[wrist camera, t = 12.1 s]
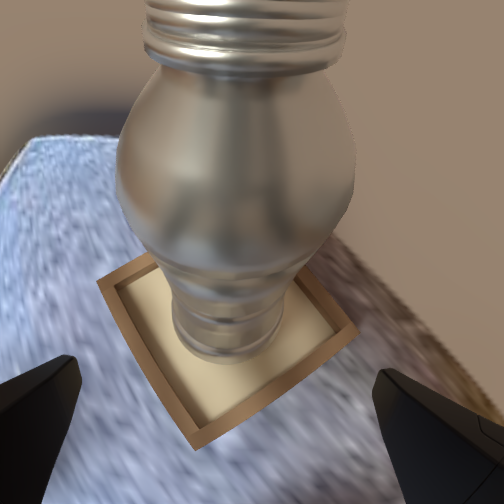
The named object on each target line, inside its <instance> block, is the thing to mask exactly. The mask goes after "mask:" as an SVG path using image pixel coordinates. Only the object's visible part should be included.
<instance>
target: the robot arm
mask: <svg viewBox="0 0 504 504" xmlns="http://www.w3.org/2000/svg"><path fill="white" fill-rule="evenodd" d="M81 385H82V377H81V373H80V370H79V366H78V362H77V359H76V358H75V357H74V356H70V355H61V356H59V357H57V358H55V359H52V360H50V361H48V362H46V363H44V364H42V365H40V366H38V367H36V368H34V369H31V370H29V371H27V372H25V373H23V374H21V375H19V376H17V377H15V378H12V379H10V380H8V381H6V382H4V383H2V384H0V504H41V503H42V500H43V497H44V493H45V490H46V488H47V485H48V482H49V479H50V476H51V473H52V470H53V468H54V465H55V462H56V459H57V457H58V454H59V452H60V449H61V446H62V444H63V441H64V439H65V436H66V434H67V431H68V429H69V426H70V423H71V420H72V416H73V413H74V409H75V406H76V402H77V399H78V395H79V392H80V389H81ZM372 398H373V402H374V406H375V410H376V414H377V418H378V422H379V426H380V430H381V434H382V437H383V440H384V443H385V446H386V448H387V451H388V454H389V456H390V459H391V462H392V465H393V468H394V470H395V473H396V476H397V479H398V482H399V485H400V487H401V490H402V493H403V496H404V499H405V502H406V504H504V427H502V426H500V425H498V424H496V423H494V422H492V421H490V420H488V419H486V418H484V417H482V416H480V415H477V414H476V413H474V412H472V411H470V410H469V409H467V408H465V407H463V406H461V405H459V404H457V403H455V402H453V401H452V400H450V399H448V398H446V397H444V396H442V395H440V394H439V393H437V392H435V391H433V390H431V389H429V388H428V387H426V386H424V385H422V384H420V383H418V382H417V381H415V380H413V379H411V378H409V377H408V376H406V375H404V374H402V373H400V372H399V371H397V370H395V369H393V368H388V369H381V370H380V371H379V372H378V375H377V378H376V381H375V384H374V387H373V390H372Z"/></svg>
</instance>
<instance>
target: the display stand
mask: <svg viewBox="0 0 504 504" xmlns="http://www.w3.org/2000/svg"><path fill="white" fill-rule="evenodd" d="M96 282H97V284H98V286H99V289H100V291H101V293H102V295H103V297H104V299H105V301H106V303H107V305H108V308H109V310H110V312H111V314H112V316H113V318H114V320H115V322H116V324H117V325H118V327H119V329H120V331H121V333H122V335H123V337H124V339H125V341H126V343H127V344H128V346H129V348H130V350H131V352H132V354H133V355H134V357H135V359H136V361H137V362H138V364H139V366H140V368H141V369H142V371H143V373H144V374H145V376H146V378H147V379H148V381H149V383H150V384H151V386H152V388H153V389H154V391H155V393H156V394H157V396H158V397H159V399H160V401H161V402H162V404H163V405H164V407H165V408H166V410H167V411H168V413H169V414H170V416H171V417H172V419H173V420H174V422H175V423H176V425H177V426H178V428H179V429H180V431H181V432H182V434H183V435H184V436H185V438H186V439H187V441H188V442H189V443H190V445H191V446H192V448H193V449H194V450H195V451H196V450H198V449H200V448H202V447H203V446H205V445H207V444H208V443H210V442H212V441H213V440H215V439H217V438H218V437H220V436H222V435H223V434H225V433H226V432H228V431H229V430H231V429H233V428H234V427H236V426H237V425H239V424H240V423H242V422H243V421H245V420H247V419H248V418H250V417H251V416H253V415H254V414H256V413H257V412H258V411H260V410H261V409H263V408H264V407H266V406H267V405H269V404H270V403H272V402H273V401H274V400H276V399H277V398H279V397H280V396H281V395H283V394H284V393H286V392H287V391H288V390H290V389H291V388H292V387H294V386H295V385H296V384H298V383H299V382H300V381H302V380H303V379H304V378H306V377H307V376H308V375H310V374H311V373H312V372H313V371H315V370H316V369H317V368H319V367H320V366H321V365H322V364H324V363H325V362H326V361H327V360H329V359H330V358H331V357H332V356H334V355H335V354H336V353H337V352H338V351H340V350H341V349H342V348H343V347H344V346H346V345H347V344H348V343H349V342H350V341H352V340H353V339H354V338H355V337H356V336H357V335H359V334H360V333H361V332H360V331H359V330H358V329H357V327H356V326H355V325H354V324H353V322H352V321H351V320H350V319H349V318H348V316H347V315H346V314H345V313H344V311H343V310H342V309H341V308H340V306H339V305H338V304H337V303H336V301H335V300H334V299H333V298H332V297H331V295H330V294H329V293H328V292H327V290H326V289H325V288H324V287H323V286H322V284H321V283H320V282H319V281H318V279H317V278H316V277H315V276H314V275H313V273H312V272H311V271H310V270H309V269H308V267H307V266H306V265H304V266H303V267H302V268H301V269H300V271H299V272H298V273H297V274H296V276H295V277H294V279H293V281H292V282H291V284H290V285H289V287H288V289H287V290H286V292H285V296H284V312H283V318H282V322H281V326H280V329H279V331H278V333H277V335H276V337H275V339H274V340H273V341H272V343H271V344H270V345H269V347H268V348H266V349H265V350H264V351H263V352H262V353H261V354H259V355H257V356H256V357H254V358H252V359H250V360H248V361H245V362H242V363H239V364H231V365H221V364H214V363H210V362H206V361H204V360H202V359H200V358H198V357H196V356H194V355H193V354H192V353H191V352H189V351H188V350H187V349H186V348H185V347H184V345H183V344H182V343H181V342H180V340H179V338H178V336H177V334H176V332H175V330H174V326H173V322H172V307H171V302H172V293H171V288H170V286H169V284H168V282H167V280H166V278H165V276H164V273H163V271H162V270H161V269H160V267H159V266H158V265H157V263H156V262H155V261H154V259H153V258H152V257H151V255H150V254H149V252H146V253H144V254H143V255H141V256H139V257H137V258H136V259H134V260H132V261H130V262H128V263H127V264H125V265H123V266H121V267H120V268H118V269H116V270H115V271H113V272H111V273H109V274H108V275H106V276H104V277H102V278H101V279H99V280H97V281H96Z"/></svg>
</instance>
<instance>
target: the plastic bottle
mask: <svg viewBox="0 0 504 504" xmlns="http://www.w3.org/2000/svg"><path fill="white" fill-rule="evenodd" d="M349 1H350V0H145V10H146V19H144V21H143V23H142V34H143V42H144V49H145V52H146V53H147V54H148V55H149V57H150V58H152V59H154V60H155V61H157V62H158V63H160V66H159V67H158V68H157V70H156V71H155V72H154V74H153V75H152V77H151V78H150V80H149V81H148V83H147V84H146V86H145V87H144V89H143V90H142V92H141V94H140V95H139V97H138V98H137V100H136V102H135V103H134V105H133V107H132V110H131V112H130V114H129V116H128V118H127V121H126V123H125V125H124V127H123V129H122V132H121V134H120V138H119V142H118V146H117V152H116V166H115V185H116V195H117V198H118V201H119V203H120V206H121V209H122V211H123V213H124V215H125V217H126V219H127V221H128V223H129V225H130V227H131V229H132V231H133V232H134V233H135V235H136V236H137V237H138V239H139V240H140V242H141V243H142V244H143V246H144V247H145V248H146V250H147V251H148V252H149V254H150V255H151V257H152V258H153V259H154V261H155V262H156V263H157V265H158V266H159V267H160V269H161V270H162V271H163V273H164V276H165V278H166V280H167V282H168V284H169V286H170V288H171V293H172V302H171V307H172V322H173V326H174V330H175V332H176V334H177V336H178V338H179V340H180V342H181V343H182V344H183V345H184V347H185V348H186V349H187V350H188V351H189V352H191V353H192V354H193V355H194V356H196V357H198V358H200V359H202V360H204V361H206V362H210V363H214V364H221V365H231V364H239V363H242V362H245V361H248V360H250V359H252V358H254V357H256V356H257V355H259V354H261V353H262V352H263V351H264V350H265V349H266V348H268V347H269V345H270V344H271V343H272V341H273V340H274V339H275V337H276V335H277V333H278V331H279V329H280V326H281V322H282V318H283V312H284V296H285V292H286V290H287V289H288V287H289V285H290V284H291V282H292V281H293V279H294V277H295V276H296V274H297V273H298V272H299V271H300V269H301V268H302V267H303V266H304V265H305V264H306V263H307V262H308V260H309V259H310V258H311V257H312V256H313V255H314V254H315V253H316V251H317V250H318V249H319V248H320V246H322V245H323V244H324V242H325V241H326V240H327V238H328V237H329V235H330V234H331V233H332V231H333V230H334V229H335V227H336V226H337V224H338V222H339V221H340V219H341V218H342V216H343V215H344V213H345V212H346V210H347V208H348V205H349V203H350V200H351V197H352V195H353V190H354V177H355V165H356V147H355V142H354V138H353V134H352V131H351V128H350V125H349V122H348V119H347V116H346V113H345V111H344V108H343V106H342V104H341V102H340V100H339V98H338V96H337V94H336V92H335V90H334V88H333V86H332V85H331V83H330V81H329V79H328V77H327V75H326V74H325V72H324V69H327V68H328V67H330V66H332V65H333V64H335V63H337V61H338V60H339V59H340V57H341V55H342V51H343V47H344V44H345V40H346V31H345V29H344V27H343V25H344V21H345V17H346V13H347V9H348V5H349Z"/></svg>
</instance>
